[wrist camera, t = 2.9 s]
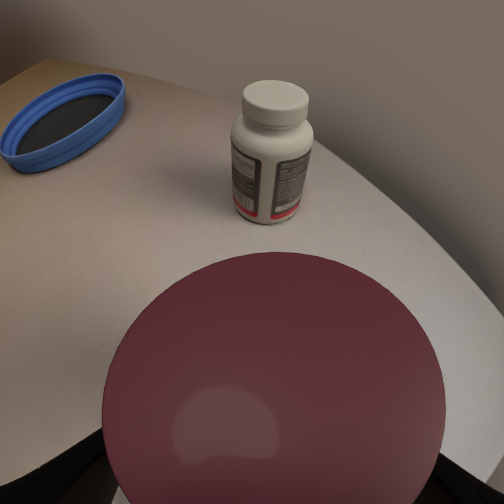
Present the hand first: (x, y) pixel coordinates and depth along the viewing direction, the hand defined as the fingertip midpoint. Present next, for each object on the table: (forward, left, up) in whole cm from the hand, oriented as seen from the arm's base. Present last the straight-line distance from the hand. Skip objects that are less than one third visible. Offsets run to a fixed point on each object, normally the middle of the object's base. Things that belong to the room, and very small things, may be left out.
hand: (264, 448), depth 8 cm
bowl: (+39, -1, -9) cm, 40 cm away
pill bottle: (+13, -12, -9) cm, 19 cm away
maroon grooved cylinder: (+1, -1, -9) cm, 9 cm away
